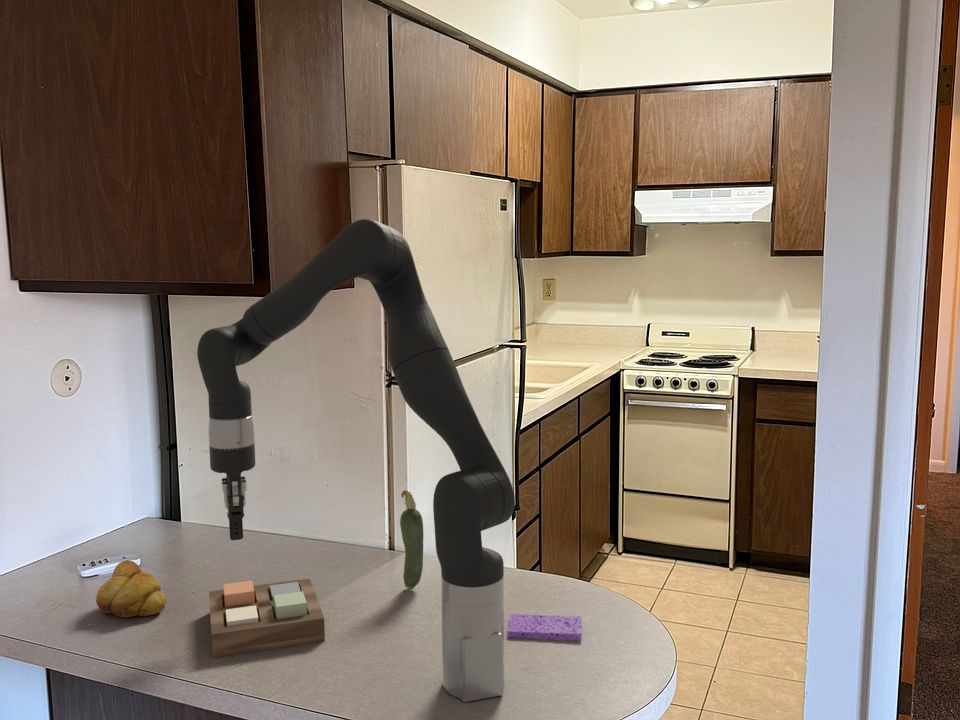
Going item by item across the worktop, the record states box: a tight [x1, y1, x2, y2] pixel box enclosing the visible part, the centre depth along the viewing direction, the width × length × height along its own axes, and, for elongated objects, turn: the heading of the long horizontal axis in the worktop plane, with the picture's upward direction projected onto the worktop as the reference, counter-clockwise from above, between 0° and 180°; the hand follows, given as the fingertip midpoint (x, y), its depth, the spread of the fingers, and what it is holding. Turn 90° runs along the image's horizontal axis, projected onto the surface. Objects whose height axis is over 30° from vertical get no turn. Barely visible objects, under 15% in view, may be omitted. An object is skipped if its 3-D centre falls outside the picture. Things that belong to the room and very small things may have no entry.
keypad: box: [208, 578, 326, 659], centre depth 148 cm, size 18×18×4 cm
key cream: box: [226, 605, 258, 627], centre depth 143 cm, size 5×5×3 cm
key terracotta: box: [222, 580, 255, 607], centre depth 150 cm, size 5×5×3 cm
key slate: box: [270, 582, 301, 601], centre depth 153 cm, size 5×5×3 cm
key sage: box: [274, 591, 307, 619], centre depth 145 cm, size 5×5×3 cm
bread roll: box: [95, 559, 167, 618], centre depth 155 cm, size 13×10×8 cm
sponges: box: [507, 612, 583, 642], centre depth 146 cm, size 7×13×2 cm, turn 83°
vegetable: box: [399, 489, 424, 591], centre depth 162 cm, size 4×4×20 cm
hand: (236, 538), depth 149 cm, fingers closed
